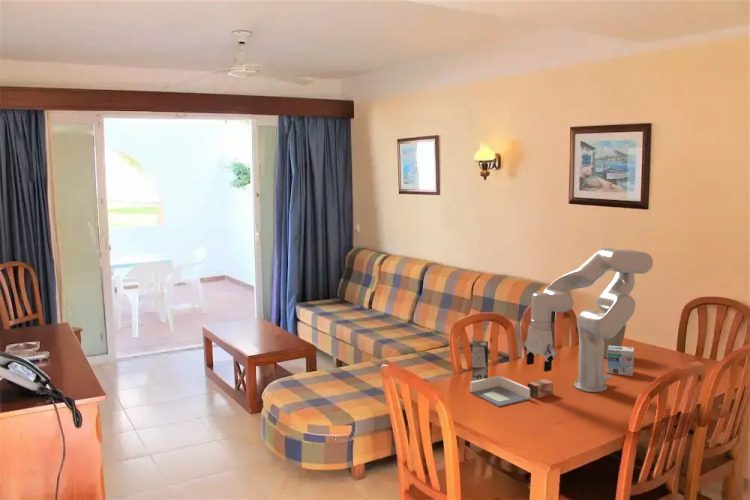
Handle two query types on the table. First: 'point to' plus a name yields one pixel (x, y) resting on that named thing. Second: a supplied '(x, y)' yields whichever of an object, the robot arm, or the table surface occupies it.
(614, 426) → the table surface
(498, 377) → the corner arena
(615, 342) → the plant pot
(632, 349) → the light bulb box
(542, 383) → the block
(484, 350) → the coffee box
